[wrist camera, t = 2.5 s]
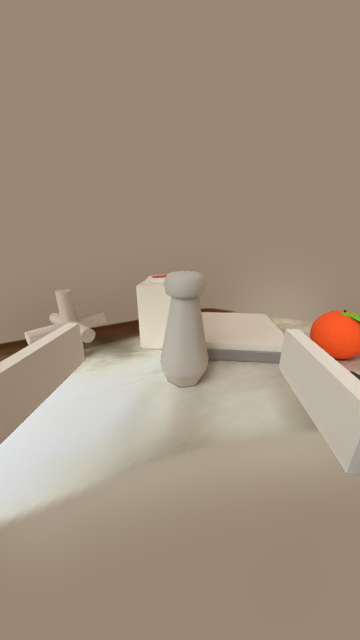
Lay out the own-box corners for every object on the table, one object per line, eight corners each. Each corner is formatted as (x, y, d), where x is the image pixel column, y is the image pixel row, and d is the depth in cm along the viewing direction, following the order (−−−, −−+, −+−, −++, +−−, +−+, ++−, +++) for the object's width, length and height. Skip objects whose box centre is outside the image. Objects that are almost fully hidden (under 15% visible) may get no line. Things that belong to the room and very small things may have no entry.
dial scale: (136, 356, 31) (130, 283, 27) (156, 320, 45) (154, 269, 41) (297, 364, 29) (315, 286, 25) (265, 324, 43) (273, 271, 39)
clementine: (383, 369, 28) (403, 319, 25) (342, 376, 26) (359, 324, 24) (330, 343, 35) (342, 302, 33) (295, 347, 34) (304, 305, 31)
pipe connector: (91, 337, 37) (82, 281, 33) (125, 356, 31) (118, 289, 27) (25, 360, 30) (4, 291, 26) (52, 390, 24) (30, 306, 20)
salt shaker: (193, 361, 30) (196, 267, 25) (216, 384, 25) (224, 273, 20) (154, 370, 27) (150, 270, 23) (171, 398, 22) (169, 277, 18)
